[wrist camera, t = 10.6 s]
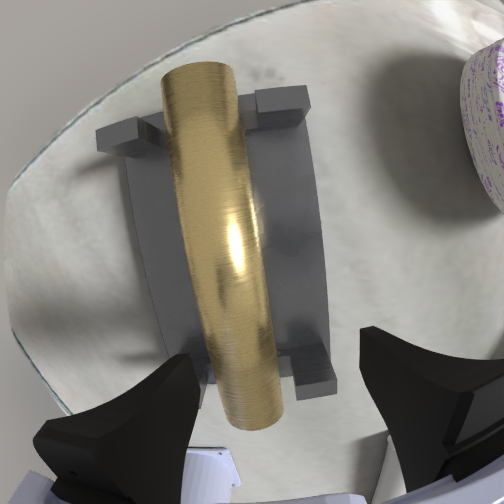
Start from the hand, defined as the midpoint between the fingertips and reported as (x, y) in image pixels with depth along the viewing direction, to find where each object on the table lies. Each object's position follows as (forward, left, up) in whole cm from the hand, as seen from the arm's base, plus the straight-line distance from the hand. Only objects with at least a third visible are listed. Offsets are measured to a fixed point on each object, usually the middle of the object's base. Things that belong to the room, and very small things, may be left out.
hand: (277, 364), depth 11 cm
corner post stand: (-2, +3, -10) cm, 10 cm away
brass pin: (-2, +3, -7) cm, 8 cm away
